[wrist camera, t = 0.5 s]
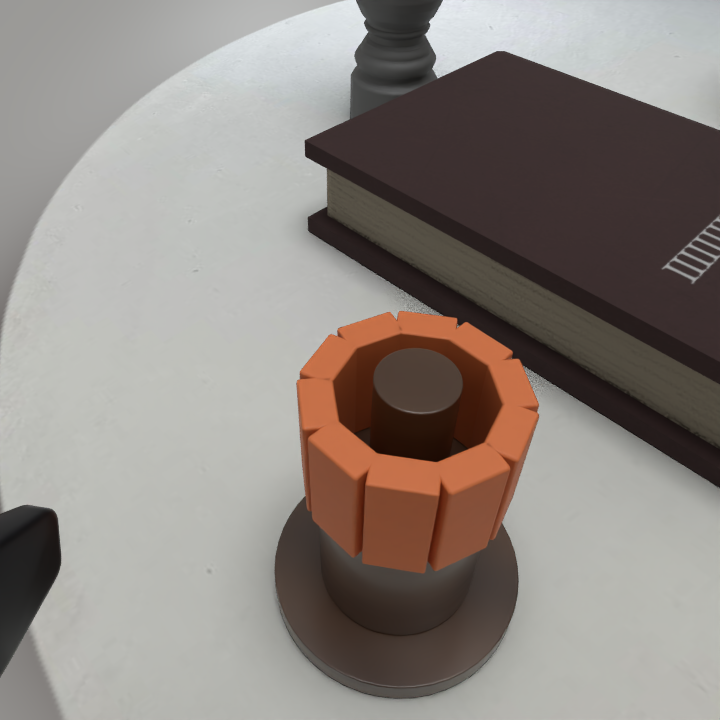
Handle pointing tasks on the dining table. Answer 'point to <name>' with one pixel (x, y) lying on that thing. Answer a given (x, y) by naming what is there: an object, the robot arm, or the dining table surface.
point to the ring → (405, 475)
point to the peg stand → (392, 586)
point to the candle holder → (392, 52)
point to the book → (549, 234)
